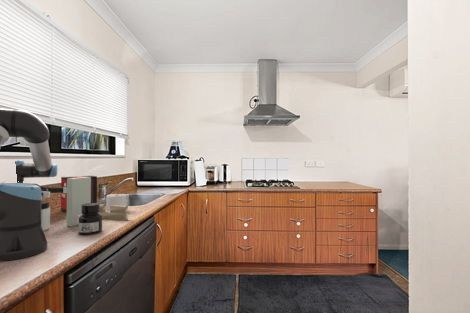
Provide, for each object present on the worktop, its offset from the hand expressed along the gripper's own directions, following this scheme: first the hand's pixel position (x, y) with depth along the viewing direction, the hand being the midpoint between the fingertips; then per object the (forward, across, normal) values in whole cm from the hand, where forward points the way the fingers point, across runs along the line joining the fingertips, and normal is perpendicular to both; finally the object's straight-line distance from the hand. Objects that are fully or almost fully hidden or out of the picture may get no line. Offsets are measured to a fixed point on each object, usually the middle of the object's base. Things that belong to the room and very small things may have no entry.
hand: (62, 192), depth 126 cm
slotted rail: (+17, -11, -14) cm, 25 cm away
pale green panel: (+10, 0, -14) cm, 18 cm away
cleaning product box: (-16, -26, -15) cm, 34 cm away
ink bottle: (+27, +11, -14) cm, 33 cm away
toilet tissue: (+11, -25, -15) cm, 31 cm away
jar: (+2, +14, -14) cm, 20 cm away
